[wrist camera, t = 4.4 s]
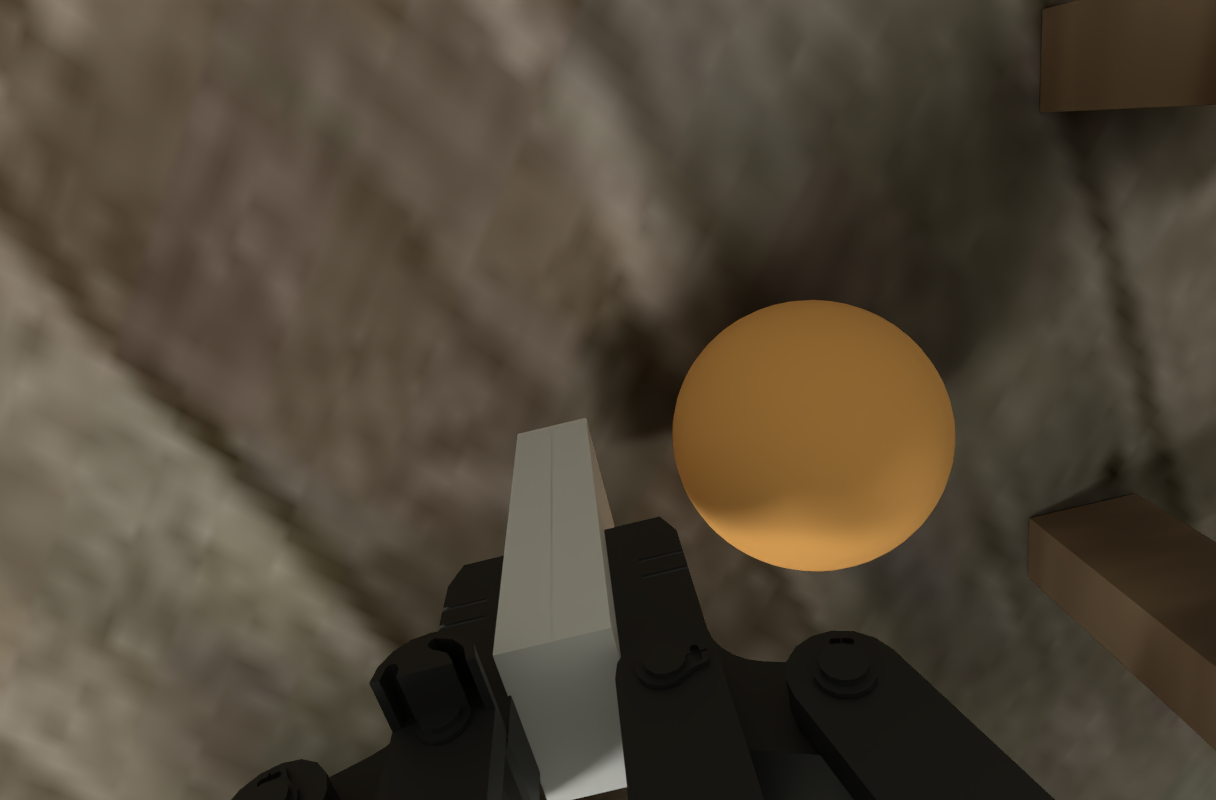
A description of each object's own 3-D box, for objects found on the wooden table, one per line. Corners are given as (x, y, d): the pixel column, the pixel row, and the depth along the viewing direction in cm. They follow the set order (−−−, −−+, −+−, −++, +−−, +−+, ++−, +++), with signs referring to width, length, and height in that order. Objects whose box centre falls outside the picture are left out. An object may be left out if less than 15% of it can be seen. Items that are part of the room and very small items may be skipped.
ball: (668, 612, 14) (752, 473, 19) (954, 655, 11) (980, 477, 15) (591, 381, 12) (704, 283, 17) (911, 356, 9) (952, 243, 13)
